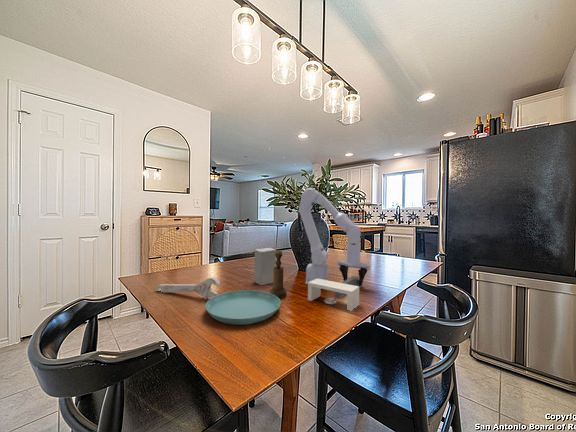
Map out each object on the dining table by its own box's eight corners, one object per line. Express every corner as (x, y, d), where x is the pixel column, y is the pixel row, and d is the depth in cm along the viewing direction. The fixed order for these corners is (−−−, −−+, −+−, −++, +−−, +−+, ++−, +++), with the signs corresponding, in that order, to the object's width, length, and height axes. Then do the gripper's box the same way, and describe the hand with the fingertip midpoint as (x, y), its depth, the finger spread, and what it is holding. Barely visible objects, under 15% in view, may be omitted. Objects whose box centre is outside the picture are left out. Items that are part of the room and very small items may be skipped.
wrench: (160, 297, 99) (221, 298, 89) (156, 299, 97) (218, 300, 87) (159, 278, 99) (219, 277, 89) (155, 279, 98) (216, 278, 87)
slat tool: (331, 296, 94) (331, 284, 94) (351, 284, 111) (351, 274, 110) (343, 299, 92) (343, 287, 91) (361, 286, 108) (361, 276, 107)
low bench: (307, 300, 90) (308, 282, 90) (317, 295, 95) (317, 278, 95) (351, 311, 80) (351, 291, 80) (359, 305, 85) (359, 286, 85)
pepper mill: (266, 297, 93) (267, 250, 92) (275, 292, 98) (275, 248, 98) (281, 300, 89) (282, 252, 89) (289, 295, 95) (290, 249, 95)
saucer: (202, 334, 65) (202, 321, 65) (207, 301, 88) (207, 292, 88) (288, 324, 71) (289, 312, 71) (272, 296, 94) (272, 288, 94)
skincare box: (268, 279, 117) (269, 247, 117) (276, 283, 111) (277, 249, 111) (253, 282, 112) (253, 248, 112) (260, 286, 106) (261, 250, 106)
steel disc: (322, 303, 88) (322, 300, 88) (327, 299, 91) (327, 297, 91) (333, 306, 85) (333, 303, 85) (338, 302, 89) (338, 299, 89)
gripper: (334, 252, 107) (333, 282, 107) (366, 256, 98) (366, 289, 98) (341, 250, 112) (340, 279, 113) (372, 254, 104) (371, 285, 104)
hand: (353, 283), depth 106 cm, fingers open, 6 cm apart
